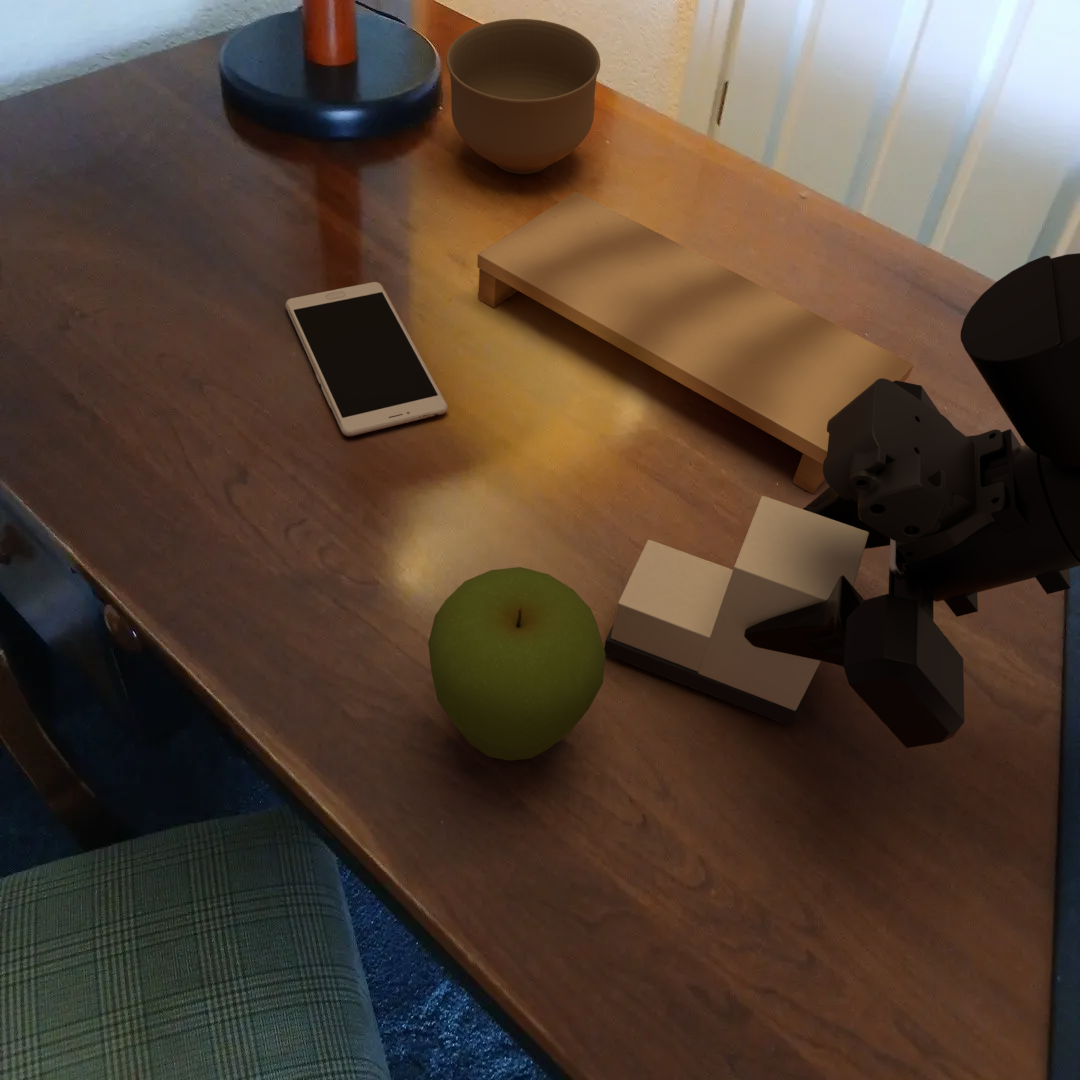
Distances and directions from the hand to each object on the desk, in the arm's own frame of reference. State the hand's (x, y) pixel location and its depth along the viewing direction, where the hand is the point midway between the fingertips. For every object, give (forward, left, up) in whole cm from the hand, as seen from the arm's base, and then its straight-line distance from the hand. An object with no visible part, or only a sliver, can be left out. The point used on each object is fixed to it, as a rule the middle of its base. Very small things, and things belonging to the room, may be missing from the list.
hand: (755, 593), depth 55 cm
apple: (+7, +12, -7) cm, 15 cm away
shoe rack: (+18, -21, -7) cm, 29 cm away
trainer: (+1, 0, -7) cm, 7 cm away
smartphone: (+34, -4, -7) cm, 35 cm away
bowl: (+43, -32, -7) cm, 54 cm away
